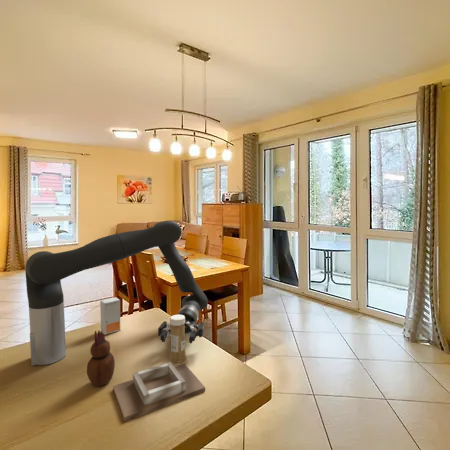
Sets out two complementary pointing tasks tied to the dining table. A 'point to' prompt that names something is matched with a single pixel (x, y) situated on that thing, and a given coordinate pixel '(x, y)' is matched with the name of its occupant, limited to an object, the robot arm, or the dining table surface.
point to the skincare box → (110, 315)
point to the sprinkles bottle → (177, 338)
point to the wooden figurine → (100, 361)
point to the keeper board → (156, 389)
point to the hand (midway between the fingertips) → (176, 339)
